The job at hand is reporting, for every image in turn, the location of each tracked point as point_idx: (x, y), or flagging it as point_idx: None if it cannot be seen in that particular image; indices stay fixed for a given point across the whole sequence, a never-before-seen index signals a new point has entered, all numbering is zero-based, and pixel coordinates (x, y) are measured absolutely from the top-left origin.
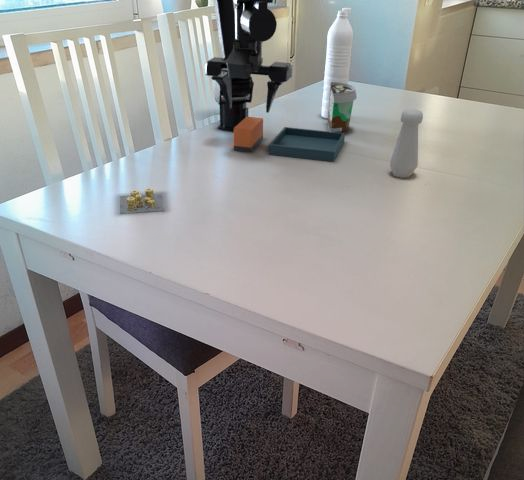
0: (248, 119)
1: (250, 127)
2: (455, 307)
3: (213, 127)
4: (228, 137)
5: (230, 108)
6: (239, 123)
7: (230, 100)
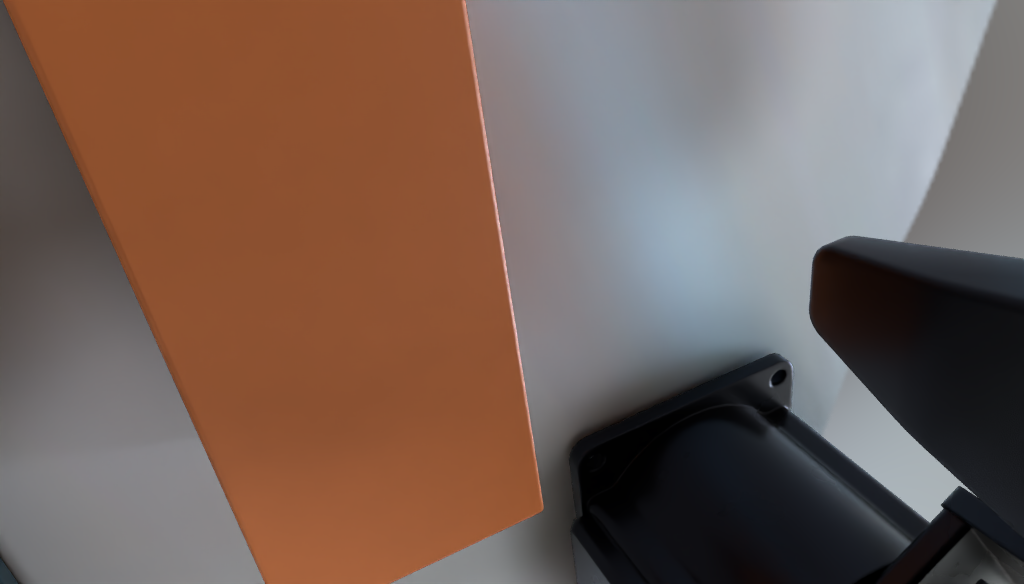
0: (453, 434)
1: (114, 62)
2: None
3: (820, 362)
4: (609, 233)
5: (813, 276)
6: (479, 165)
7: (945, 372)
